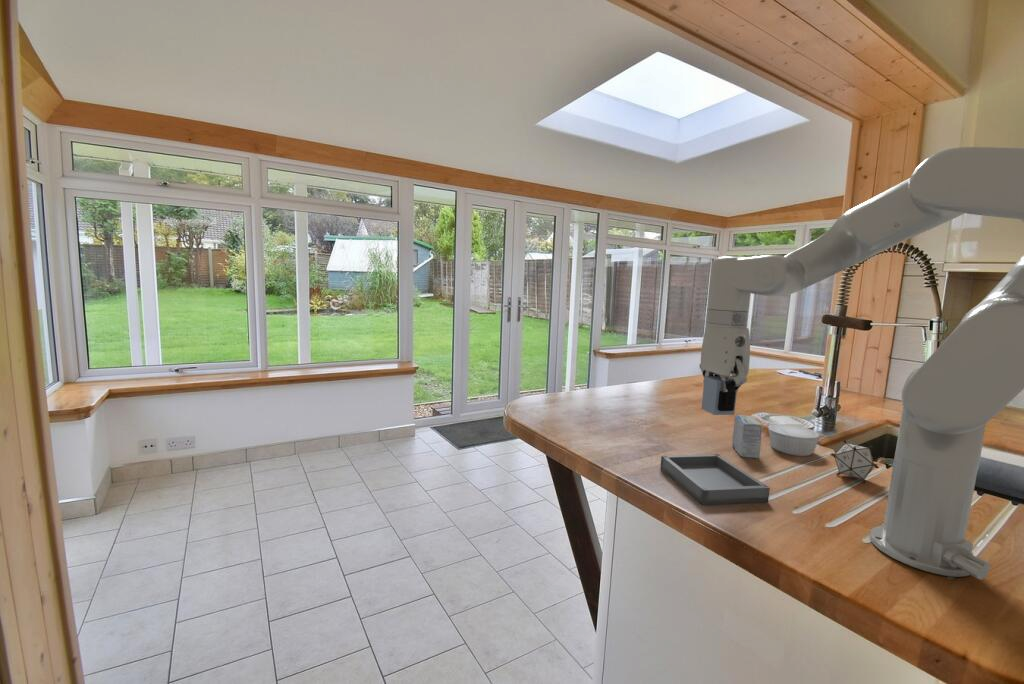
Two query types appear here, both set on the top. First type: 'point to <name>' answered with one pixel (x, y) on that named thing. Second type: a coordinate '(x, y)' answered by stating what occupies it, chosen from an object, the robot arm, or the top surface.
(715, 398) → the slate block
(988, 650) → the top surface
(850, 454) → the game die
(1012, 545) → the top surface
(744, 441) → the medicine box
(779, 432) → the ramekin
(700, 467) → the tray
